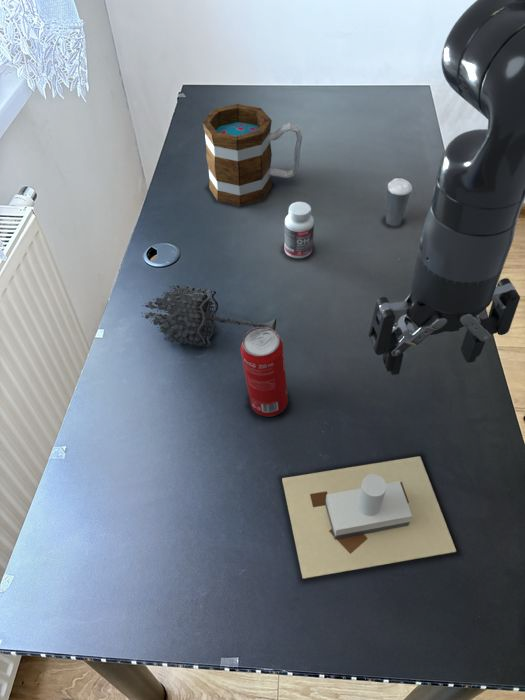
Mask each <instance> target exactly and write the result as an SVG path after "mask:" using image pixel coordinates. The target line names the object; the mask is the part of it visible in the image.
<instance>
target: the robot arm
mask: <svg viewBox="0 0 525 700" xmlns="http://www.w3.org/2000/svg"><path fill="white" fill-rule="evenodd" d="M440 62H441V63H440V64H441V70H442V74H443V77H444V78H445V81H446V82H447V84H448V85H449V86H450V88H451V89H452V90H453V91H454V92H455V93H456V94H457V95H458V96H459V97H460V98H462V99H463V100H465V102H467V103H468V104H469V105H470V106H472V107H473V109H475V110H476V111H478V112H479V113H480V114H481V115H482V116H483V117H484V118H486V119H487V128H478V129H471V130H468V131H464V132H462V133H460V134H458V135H457V136H455V137H454V138H453V139H452V140H451V141H450V142H449V143H448V144H447V145H446V148H445V149H444V151H443V153H442V156H441V160H440V164H439V167H438V171H437V175H436V180H435V184H434V188H433V194H432V198H431V202H430V205H429V209H428V212H427V213H426V216H425V219H424V223H423V227H422V231H421V234H420V235H421V236H420V238H419V241H418V250H417V254H416V259H415V262H414V263H415V264H414V268H413V273H412V277H411V289H410V293H409V294H408V295H407V296H406V297H405V299H404V301H395V302H390V300H389V298H388V297H386V296H382V297H380V298H378V299H377V300H376V302H375V306H374V310H373V315H372V319H371V324H370V327H369V332H368V338H369V340H370V343H371V345H372V348H373V350H374V352H375V353H374V354H375V355H377V356H381V355H382V362H383V365H384V367H385V369H386V371H387V372H390V374H391V376H396V375H400V371H401V367H402V363H403V358H404V352H406V351H407V350H408V349H409V348H410V347H412V346H418V345H420V344H421V343H422V342H423V341H424V340H426V339H427V338H428V337H429V336H435V335H438V334H441V333H446V332H447V333H451V332H458V331H460V329H462V328H464V327H465V328H466V331H465V334H464V337H463V339H462V343H461V346H460V352H461V354H462V356H463V358H464V360H465V362H466V363H467V364H469V363H475V361H476V359H477V358H479V356H480V355H481V354H482V351H483V349H484V346H485V344H486V342H487V341H489V340H490V339H491V338H492V335H495V334H497V335H499V336H505V335H506V334H508V333H509V332H510V329H511V326H512V323H513V320H514V318H515V314H516V312H517V309H518V306H519V303H520V300H521V296H520V294H519V292H518V290H517V289H516V288H515V285H514V284H513V283H512V281H511V280H510V279H509V277H504V278H502V279H501V275H502V271H503V270H504V267H505V264H506V261H507V259H508V256H509V253H510V250H511V247H512V245H513V242H514V238H515V231H516V226H517V222H518V218H519V216H520V213H521V212H522V211H521V210H522V208H523V205H524V202H525V0H475V1H474V2H473V3H472V4H471V5H470V6H468V7H467V8H466V10H465V11H464V12H463V13H462V14H461V16H459V18H458V19H457V20H456V22H455V23H454V24H453V26H452V28H451V29H450V31H449V33H448V35H447V37H446V39H445V42H444V44H443V48H442V53H441V61H440ZM489 306H490V309H489V312H488V316H487V317H485V318H482V317H481V316H480V314H481V313H482V312H483V311H485V310H486V309H487V308H488V307H489ZM413 323H414V325H415V326H416V327H417V328H418V329H415V327H414V325H413ZM401 336H403V337H402V338H401V339H400V340H399V337H401Z"/></svg>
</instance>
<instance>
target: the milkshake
mask: <svg viewBox="0 0 525 700" xmlns="http://www.w3.org/2000/svg"><path fill="white" fill-rule="evenodd" d="M384 180H385V183H386V187H387V191H386V199H387V200H386V209H385V223H386V224H387V226H391V227H398V226H400V225H401V224H402V223H403V221H404V216H405V213H406V209H407V206H408V202H409V199H410V196H411V194H412V191H413V186H412V184H411V183H410V181H409V180H407V179H406V178H405V179H404V178H400V177H399V178H398V177H396V178H393V179H392V180H390V181H388V182H387V180H386V179H384Z"/></svg>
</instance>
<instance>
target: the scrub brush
mask: <svg viewBox="0 0 525 700" xmlns="http://www.w3.org/2000/svg"><path fill="white" fill-rule="evenodd" d="M325 506H326V509H327V513H328V517H329V521H330V524H331V528H332V532H333V535H334V539H340V538H346V537H351V536H356V535H362V534H367V533H372V532H377V531H383V530H388V529H393V528H399V527H404V526H408V525H409V523H410V521H411V518H412V514H411V511H410V508H409V506H408V503H407V500H406V497H405V495H404V492H403V489H402V486H401V484H400V481H398V482H393V483H387V484H386V482H385V481H384V479H383V478H382V477H380V476H378V475H375V474H371V475H367V476H366V477H365V478H364V479H363V480H362V484H361V488H360V489H354V490H349V491H343V492H338V493H332V494H327V495H326V503H325Z"/></svg>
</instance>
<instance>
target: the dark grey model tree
mask: <svg viewBox="0 0 525 700" xmlns="http://www.w3.org/2000/svg"><path fill="white" fill-rule="evenodd" d="M169 289H170V291H164V293H162V294H161V297H163V298H161V297H157V298H156V299H154V298H153V299H152V300H153V301H154V302H153V301H148V303H147V302H144V305H143V304H142V305H141V307H145V308H147V309H148V308H149V309H150V310H154V309H157V310H156V312H152V311H150V312H140V315H141V314H144V315H145V316H144V315H142V316H141V317H142V318H145V320H148V319H149V321H150V324H153V325H154V326H157V331H158V332H159V333H163V334H164V335H165V338H164V339H163V340H164V341H167V342H168V343H175V344H184V345H192V346H198V347H202V346H204V347H207V346H210V345H211V342H210V338H211V337H212V336H213V335H214V334H215V332H216V330H217V324H216V322H220V323H223V324H224V323H226V324H227V323H230V324H234V325H236V324H237V325H238V326H243V325H244V326H249V327H251V326H252V327H254V328H257V327H267V328H271V329H272V330H274V331H275V332H276V328H277V319H276V318H273V319H272V320H271V321H269V322H265V323H262V322H253V321H251V320H250V321H249V320H242V319H241V320H238V319H234V318H230V317H226V318H225V317H223V318H222V317H219V316H217V312H218V310H219V303H218V301H217V300H216V299H215V295H216V294H217V291H215V290H211V289H206V288H204V287H202V288H200V287H193V286H188V285H187V286H185V285H177V284H174V285H169ZM213 305H214V306H213ZM157 312H159V313H157ZM162 313H164V314H162ZM166 313H167V314H166ZM210 332H211V333H210Z"/></svg>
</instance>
